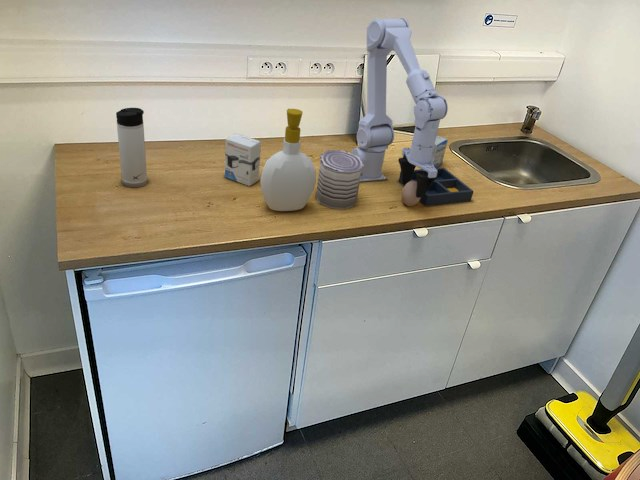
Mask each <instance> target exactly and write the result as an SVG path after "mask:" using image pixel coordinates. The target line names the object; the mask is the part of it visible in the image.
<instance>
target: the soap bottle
mask: <svg viewBox="0 0 640 480" xmlns="http://www.w3.org/2000/svg"><path fill="white" fill-rule="evenodd" d="M302 116H303V111H302V110H301V109H298V108H287V109H286V117H287V118H286V119H287V126H285V130H284V131H285V133H284V138H283V141H282V142H283V143H282V150H280V151H278V152H275V153H274V154H272V155H271V156H270V157H269V158H268V159H267V161H266V162H265V164H264V166H263V167H262V170H261V176H260V179H259V181H260V192H261V195H262V197H263V200H264V202H265V203H266V205H267V207H268V208H269V209H270V210H272V211H276V212H292V211H293V212H295V211H299V210H302V209H303V208H305V206H306V205H307V203H308V202H309V200H310V199H311V196H312V195H313V193H314V190H315V187H316V183H317V171H316V168H315V165H314V162H313V160H312V159H311V158H309V156H307V154H306V153H304V152H301V150H300V149H301V142H302V141H301V139H300V138H301V128H300V124H301V120H302Z"/></svg>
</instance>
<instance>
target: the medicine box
mask: <svg viewBox="0 0 640 480" xmlns="http://www.w3.org/2000/svg"><path fill="white" fill-rule="evenodd" d="M448 141H449V140H448V138H445V137H444V136H440V135H437V136H436V140H435V144H434V148H433V152H432V158H433V159H434V161H433V162H432V163H433V165H434V167H435V168H438V167H440V165H442V164H443V162H444V159H445V158H444V157H445V153H446V150H447V146H448Z"/></svg>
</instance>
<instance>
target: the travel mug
mask: <svg viewBox="0 0 640 480" xmlns="http://www.w3.org/2000/svg"><path fill="white" fill-rule="evenodd" d="M144 113H145V112H144V110H143V109H142V108H139V107H126V108H122V109H120V110H118V111H116V113H115V114H116V116H115V117H116V129H117V130H116V131H117V139H118V151H119V161H120V173H121V182H122V184H123V185H124V186H125V187H128V188H141V187H143V186H145V185H147V183H148V174H147V173H148V172H147V171H148V170H147V156H146V144H145V143H146V142H145V140H146V139H145V127H144V116H143V115H144Z"/></svg>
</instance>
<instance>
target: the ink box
mask: <svg viewBox="0 0 640 480" xmlns="http://www.w3.org/2000/svg"><path fill="white" fill-rule="evenodd" d="M224 148H225V152H224V153H225V154H224V157H225V158H224V178H225V179H229V180H231V181H234V182H237V183H238V184H239V183H240V184H242V185H245V186H248V187H250V186H252V185H254V184H255V183H257V182H258V181H260V168H261V167H260V163H261V148H262V142H261V140H258V139H256V138H255V139H254V138H251V137H248V136H245V135H244V134H243V135H242V134H240V133H234V134H232V135H230V136H228V137H226V138H225V146H224Z"/></svg>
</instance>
